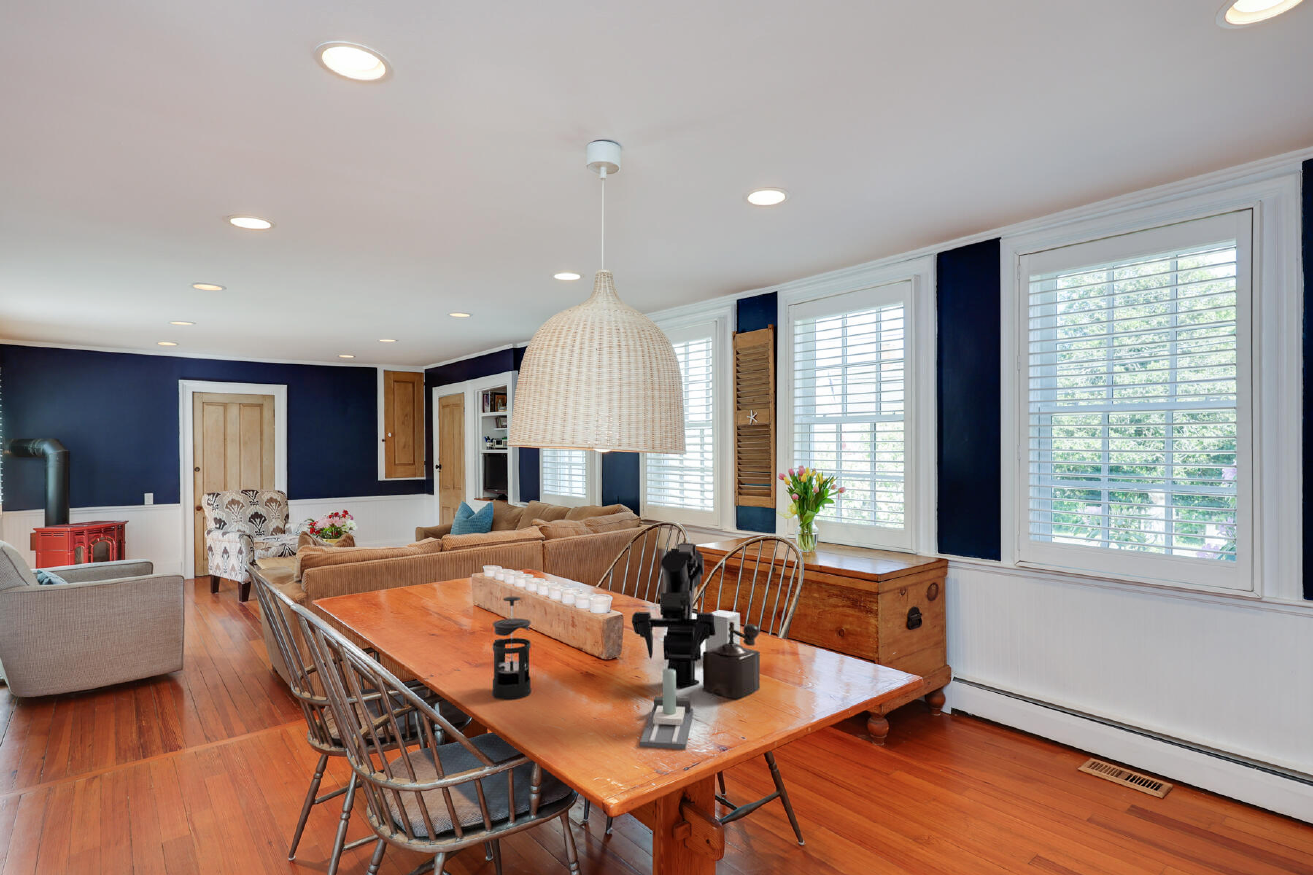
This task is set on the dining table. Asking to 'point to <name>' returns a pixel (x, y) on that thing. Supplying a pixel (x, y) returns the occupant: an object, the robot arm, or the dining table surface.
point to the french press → (511, 674)
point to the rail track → (668, 728)
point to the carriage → (669, 702)
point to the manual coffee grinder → (733, 666)
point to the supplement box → (723, 629)
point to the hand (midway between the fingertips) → (671, 658)
